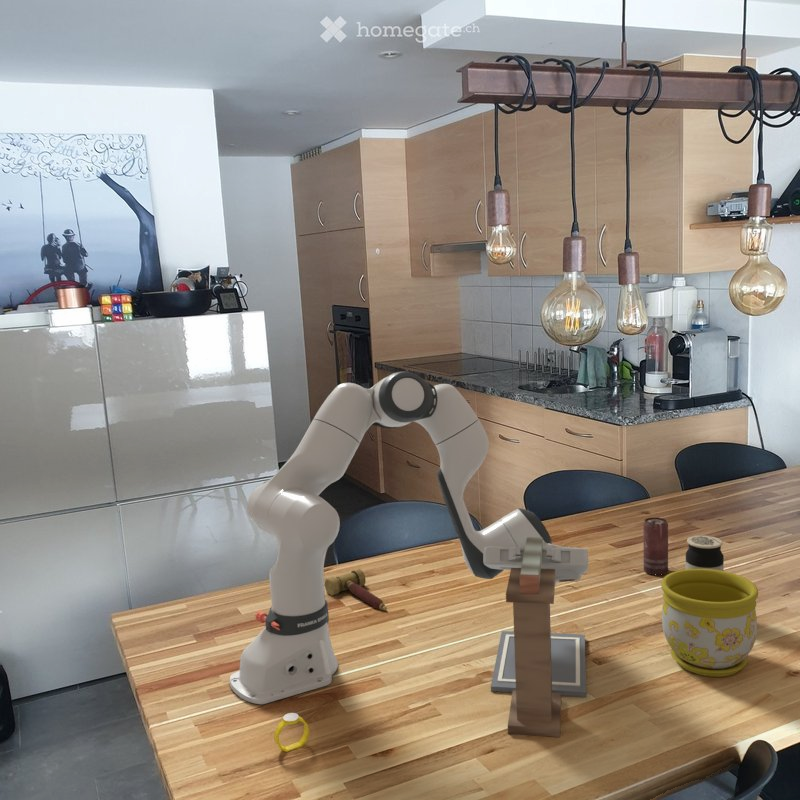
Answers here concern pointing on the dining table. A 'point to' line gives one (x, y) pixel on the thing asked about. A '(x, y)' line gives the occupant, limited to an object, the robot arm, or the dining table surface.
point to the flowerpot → (709, 620)
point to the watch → (291, 719)
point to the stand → (533, 659)
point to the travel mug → (704, 553)
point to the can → (655, 546)
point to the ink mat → (563, 660)
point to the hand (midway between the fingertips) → (533, 551)
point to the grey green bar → (531, 566)
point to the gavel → (353, 587)
